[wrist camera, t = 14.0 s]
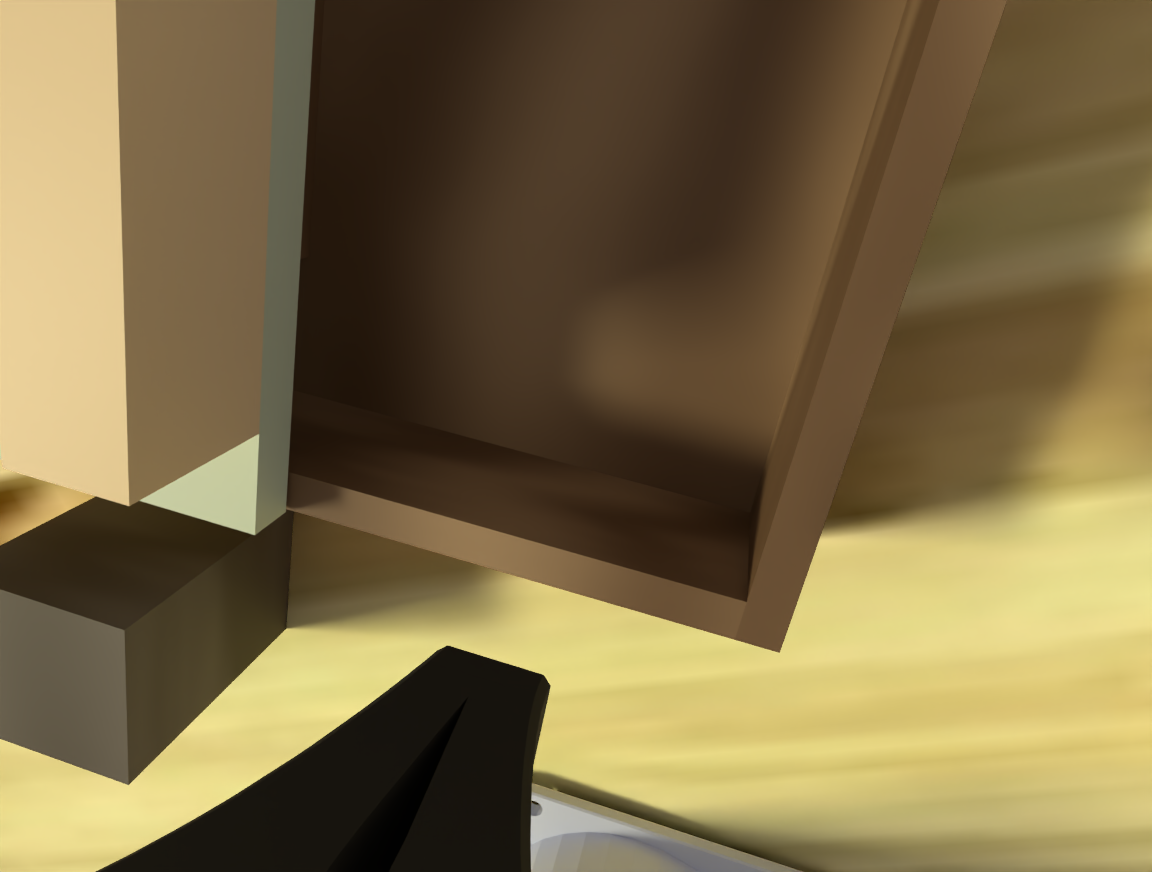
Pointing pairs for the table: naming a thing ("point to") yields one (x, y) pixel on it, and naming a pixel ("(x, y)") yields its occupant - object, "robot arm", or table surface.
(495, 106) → the brown wooden box
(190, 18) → the lid
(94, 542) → the dark brown block
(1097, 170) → the table surface
